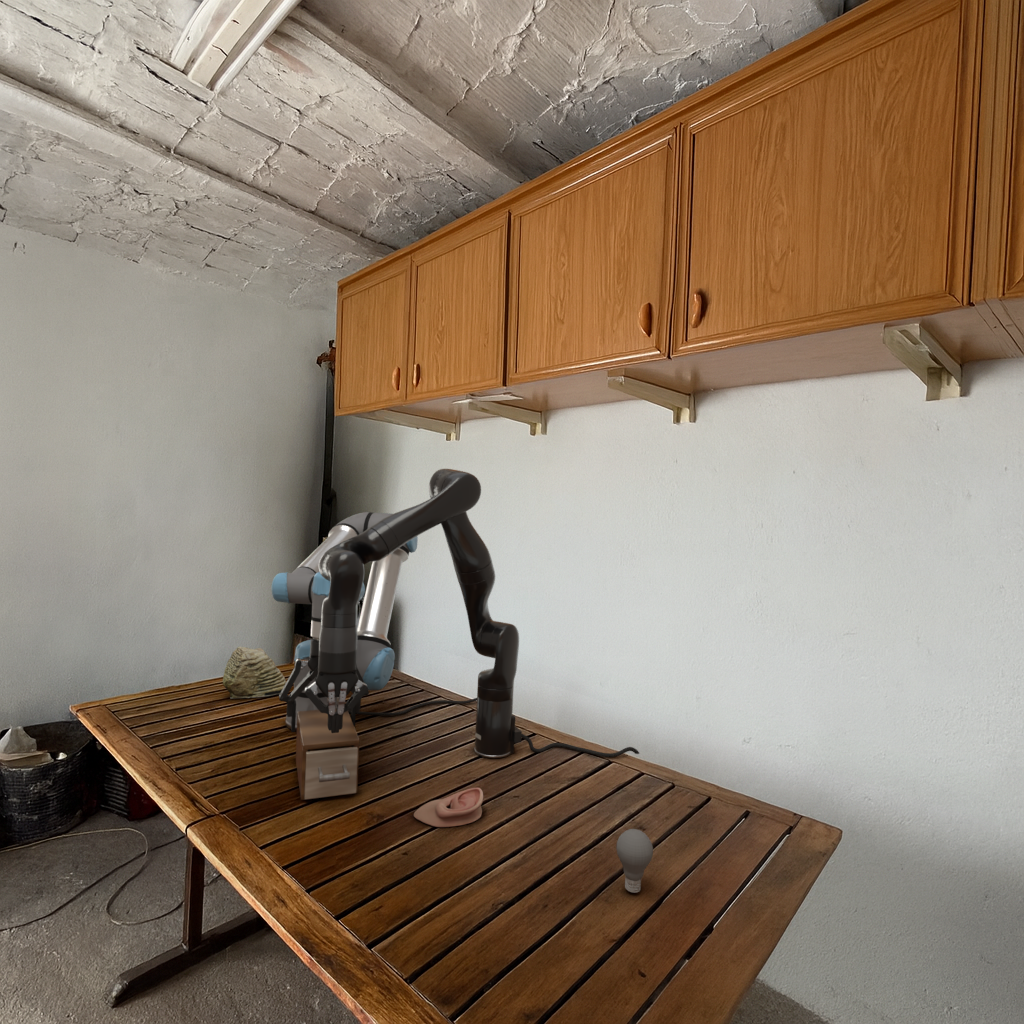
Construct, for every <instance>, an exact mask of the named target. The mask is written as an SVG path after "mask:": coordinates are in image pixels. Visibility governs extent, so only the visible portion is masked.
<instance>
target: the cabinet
mask: <svg viewBox="0 0 1024 1024" xmlns="http://www.w3.org/2000/svg"><path fill="white" fill-rule="evenodd" d="M335 712H336V709H335ZM327 724H328V714H326V713H321V712H320V711H319V710H310V711H298V712H297V731H296V740H295V741H296V742H295V746H296V747H295V764H296V772H297V780H298V788H299V797H300V801H304V800H307V799H305V797H304V795H305V769H306V752H308V750H311V749H321V748H331V747H341V746H351V747H357V748H358V755H357V780H356V793H355V794H358V786H359V785H358V784H359V761H360V760H359V757H360V738H359V736H358V733H357V730H356V728H355V727H354V725H353V723H352V720H351V714H349V712H348V711H346V712H344V714H343V726H342V729H341V730H339V733H331V730H330V731H329V729H328V726H327ZM352 794H354V793H351V794H350V795H352ZM345 795H346V794H344V795H343V796H345ZM336 796H338V795H336ZM336 796H335V797H336ZM329 797H330V796H328V797H327V798H329ZM321 798H323V797H320V799H321ZM312 799H313V800H314V799H315V798H312ZM312 799H311V800H312Z"/></svg>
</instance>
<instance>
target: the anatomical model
mask: <svg viewBox="0 0 1024 1024" xmlns="http://www.w3.org/2000/svg"><path fill="white" fill-rule="evenodd" d="M483 802H484V792H483V790H482V788H480V787H471V788H467V789H464V790H461V791H458V792H456V793H454V794H451V795H449V796H446V797H444V798H441V799H440V798H439V799H434V800H430V801H429V802H427V803H424V804H423V805H421V806H419V808H418V809H417V810H415V811H414V813H413V817H414V818H415V819H416V820H417V821H419V822H422V823H424V824H426V825H428V826H432V827H434V828H435V827H436V828H449V827H450V828H451V827H457V826H464V825H467V824H471V823H474V822H475V821H477V820H479V819H480V818H481V817H482V814H483V809H482V805H483Z"/></svg>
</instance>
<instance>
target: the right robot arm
mask: <svg viewBox="0 0 1024 1024" xmlns="http://www.w3.org/2000/svg"><path fill="white" fill-rule="evenodd" d="M428 493H429V499H427V500H425V501H422V502H421V503H419V504H416V505H414V506H411V507H408V508H406V509H403V510H399V511H397V512H395V513H394V512H393V513H391V514H392V515H390V516H388V517H386V518H384V519H382V520H381V521H379V522H378V523H376V524H375V525H373V526H371V527H370V528H368V529H367V530H365V531H364V532H363V533H361V534H359V535H357V536H355V537H352V538H350V539H348V540H346V541H343V542H341V543H339V544H337V545H335V546H333V547H332V548H330V549H329V550H328V551H326V552H325V553H324V554H323V555H322V557H321V559H320V561H319V572H320V574H321V575H322V576H323V577H324V578H325V579H326V580H328V581H331V582H330V590H329V596H328V597H326V598H325V599H324V600H323V603H322V615H321V630H320V636H319V644H318V645H319V658H318V674H317V676H316V678H315V682H314V683H313V684H311V685H310V686H306V687H305V689H304V690H305V694H306V695H307V697H308V698H309V699H310V700H311V701H312V703H313V704H314V705H315V706H316V707H317V709H318V710H319V711H320V712H321V713H326V714H328V724H327V726H328V729H329V731H330V730H331V733H339V730H341V729H342V726H343V714H344V712H346V711H351V710H352V709H353V708H354V707H355V705H356V704H357V703H358V702H359V700H360V699H361V700H362V698H363V697H364V696H363V695H364V694H365V693H366V691H367V690H368V687H367V685H366V683H362V682H361V681H360V680H358V675H357V673H356V663H357V628H358V603H359V601H358V600H359V597H360V593H361V589H362V585H363V583H364V580H365V566H366V565H367V564H369V563H372V562H375V561H379V560H381V559H383V558H385V557H386V556H388V555H389V554H391V553H392V552H394V551H395V550H397V549H398V548H400V547H401V546H402V545H404V544H405V543H407V542H408V541H410V540H412V539H413V538H415V537H416V536H417V537H418V536H420V535H421V534H423V533H425V532H427V531H429V530H431V529H433V528H435V527H436V526H439V525H441V527H442V530H443V534H444V537H445V539H446V543H447V546H448V550H449V553H450V557H451V560H452V564H453V568H454V572H455V575H456V578H457V582H458V584H459V585H458V586H459V588H460V591H461V594H462V598H463V602H464V606H465V609H466V616H467V620H468V626H469V631H470V636H471V638H470V639H471V641H472V645H473V648H474V650H475V651H476V653H477V654H479V655H480V656H482V657H486V658H492V659H494V665H493V668H488V669H487V668H486V669H484V670H481V671H480V672H479V673H478V675H477V693H476V696H477V697H476V698H477V701H476V712H475V713H476V714H475V715H476V716H475V734H474V736H475V737H474V738H475V739H474V749H473V751H474V753H475V754H476V755H477V756H479V757H482V758H486V759H502V758H506V757H508V756H510V755H511V754H512V755H513V754H514V753H515V744H517V743H522V739H523V740H525V741H526V742H527V743H528V746H529V747H528V748H529V749H530V750H531V752H533V753H542V752H545V751H547V750H549V749H552V748H565V749H568V750H572V751H576V752H580V753H585V754H588V755H593V756H597V757H602V758H616V757H620V756H622V755H623V754H625V753H628V752H632V753H634V754H635V755H639V754H640V752H639V751H638V749H636V748H635V747H632V746H626V747H625V748H622V749H620V750H619V751H617V752H616V751H615V752H611V753H610V752H608V753H607V752H601V751H596V750H593V749H590V748H586V747H585V748H584V747H580V746H576V745H572V744H569V743H563V742H552V743H549V744H547V745H545V746H543V747H541V748H536V747H535V746H534V744H533V741H532V740H531V738H530V737H529V736H527V735H525V734H523V731H522V730H521V729H520V728H519V727H517V726H516V716H515V715H514V714H513V711H514V688H515V678H516V675H517V670H518V659H519V651H520V650H519V649H520V633H519V630H518V627H517V626H516V625H515V624H514V623H513V624H512V623H510V622H509V623H508V622H503V621H498V620H493V618H492V616H491V614H490V610H489V599H490V596H491V595H492V592H493V589H494V586H495V582H496V572H495V567H494V563H493V560H492V556H491V553H490V551H489V549H488V547H487V545H486V543H485V541H484V540H483V539H482V537H481V536H480V534H479V533H478V531H477V530H476V528H475V527H474V526H473V524H472V522H471V520H470V517H469V515H468V513H467V512H469V511H470V510H471V509H473V508H474V507H475V506H476V505H477V503H478V502H479V501H480V498H481V495H482V485H481V481H480V480H479V479H478V477H476V475H474V474H472V473H470V472H467V471H463V470H458V469H453V468H440V469H438V470H435V472H434V473H433V474H432V475H431V477H430V479H429V484H428ZM355 685H356V686H355ZM354 686H355V692H354V693H352V694H351V696H350V697H349V698H348V699H347V701H346V698H347V696H348V695H349V694H350V693H351V690H352V689H353V687H354ZM317 687H318V688H319V689H320V690H321V692H322V693H323V694H324V695H325V696H326V697H327V702H328V705H325V704H324V703H323V702H322V701H321V700H320V698H319V697H318V696H317V693H318V691H317ZM368 691H369V690H368ZM362 696H363V697H362ZM335 697H337V706H336V712H335Z"/></svg>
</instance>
